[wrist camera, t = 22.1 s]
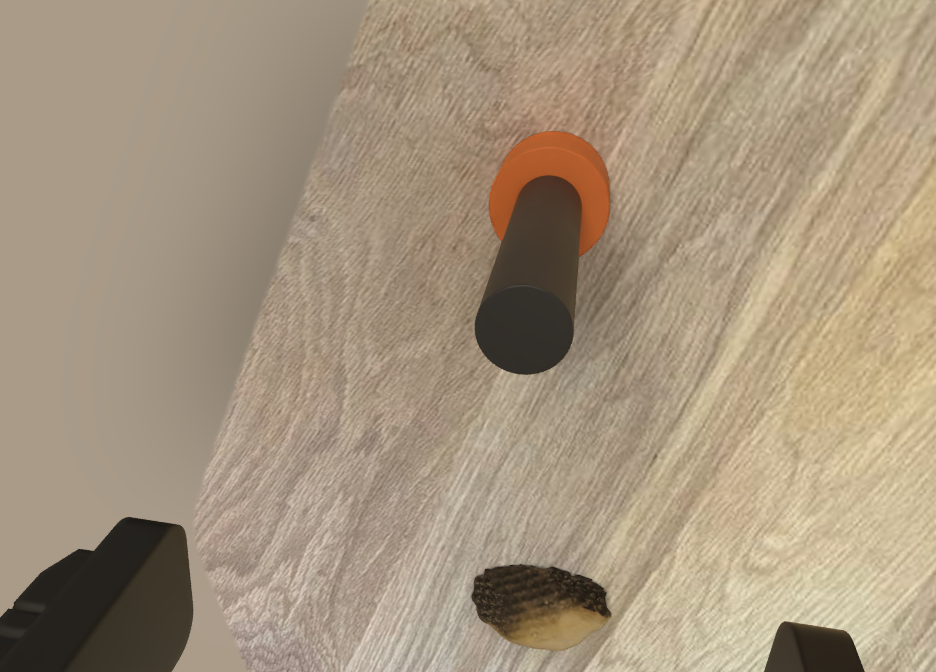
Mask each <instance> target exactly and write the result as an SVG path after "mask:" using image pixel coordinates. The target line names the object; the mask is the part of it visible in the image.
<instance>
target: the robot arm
mask: <svg viewBox="0 0 936 672" xmlns="http://www.w3.org/2000/svg"><path fill="white" fill-rule="evenodd" d="M187 550H188V549H187V539H186V534H185V530H184V529H183V527H182V526H181V525H177V524H171V523H164V522H158V521H151V520H145V519H138V518H132V517H127V518H124V519H122V520H121V521H119V522H118V523H117V525H116V526H115V527H114V528H113V529H112V530H111V532H110V533H109V534H108V535H107V536H106V537H105V539H104V540H103V541H102V542H101V543H100V544H99V546H98V547H97V548H96V549H95V551H90V550H83V549H78V550H76V551H75V552H73V553H72V554H70V555H68V556H67V557H65V558H64V559H62V560H60V561H59V562H57V563H56V564H54V565H52V566H51V567H49V568H48V569H46V570H44V571H43V572H41V573H40V574H39V576H38V577H37V578H36V579H35V580H34V581H33V582H32V583H31V584H30V585H29V586H28V588H27V589H26V590H25V591H24V592H23V593H22V594H21V595H20V596H19V598H18V599H17V600H16V601H15V602H14V606H13V608H12V609H8V610H7V611H6V612H5V613H4V614H3V615H2V616H1V617H0V672H172V670H173V669H174V667H175V665H176V663H177V662H178V660H179V658H180V657H181V655H182V653H183V651H184V649H185V646H186V644H187V641H188V638H189V634H190V630H191V626H192V620H193V601H192V591H191V580H190V570H189V559H188V551H187ZM764 672H865V671H864V669H863V666H862V664H861V661H860V658H859V656H858V653H857V650H856V648H855V645H854V642H853V640H852V638H851V637H850V635H849V634H848V633H847V632H846V631H844V630H838V629H831V628H825V627H818V626H812V625H806V624H799V623H793V622H783V623H781V625H780V626H779V628H778V630H777V633H776V636H775V639H774V642H773V645H772V648H771V652H770V655H769V658H768V661H767V664H766V667H765V670H764Z"/></svg>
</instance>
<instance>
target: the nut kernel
mask: <svg viewBox="0 0 936 672" xmlns="http://www.w3.org/2000/svg"><path fill="white" fill-rule="evenodd" d="M591 581H592V579H588V578H585V577H583V576H580V575H576V576H571V574H570V573H569V572H566V571H562V570H560V569H557V568H554V567H550V568H547V569H539V568H537V567H534V566H529V567H526V566H524V565H521V564H520V565H519V566H513V565H510V566H508V567H497V568H494V569H492V570H489V569H485V573H484V577H483V578H482V577H476V578H475V581H474V592H473V594H472V601H473V602H474V603H475V605H476V606H477V609H476V610H477V613H478V616H479V618H480V619H481V620H482V621H483V622H485V623H487V624H489V625H490V626H492V627H493V628H494V629H495V630H496V631H497V632H498V633H499V634H500V635H501V636H502V637H504V638H505V639H507V640H508V641H510V642H512V643H515V644H517V645H521V646H527V647H531V648H536V649H546V650H552V651H562V650H566V649H568V648H571V647H574V646H575V645H577V644H579V643H580V642H582V641H583V640H585V639H586V638H587V637H588V636H589V635H591V634H592V633H593V632H595V631H597V630H598V629H600V628H601V627H602V626H603V625H604V624H605V623H606V622H607V621H608V620H609V619H610V618H611V612H610V611H609V609H608V608H607V605H606V599H605V596H606V592H604V591H603V589H604V588H602V587H600V586H599V585H597V584H596V583H592V582H591Z"/></svg>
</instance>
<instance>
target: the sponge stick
mask: <svg viewBox="0 0 936 672" xmlns="http://www.w3.org/2000/svg"><path fill="white" fill-rule="evenodd" d="M489 213H490V219H491V223H492V225H493V228H494V230H495V232H496V234H497V236H498V237H499V239H500V240H501V241H502V243H501V246H500V249H499V252H498V255H497V258H496V261H495V264H494V266H493V269H492V272H491V275H490V278H489V281H488V284H487V287H486V290H485V293H484V295H483V298H482V301H481V304H480V307H479V310H478V313H477V316H476V320H475V335H476V339H477V342H478V345H479V347H480V349H481V350H482V352H483V353H484V355H485V356H486V357H487V358H488V359H489V360H490V361H491V362H492V363H493V364H495V365H496V366H498V367H499V368H501V369H503V370H505V371H508V372H511V373H515V374H523V375H528V374H536V373H540V372H544V371H546V370H548V369H550V368H552V367H554V366H555V365H556V364H558V363H559V362H560V361H561V360H562V359H563V358H564V357H565V355H566V354H567V353H568V351H569V349H570V347H571V344H572V341H573V335H574V320H575V305H576V290H577V275H578V260H579V257H580V256H581V255H583V254H584V253H586V252H587V251H588V250H590V249H591V248H592V247H593V246H594V245H595V244H596V243H597V241H598V240H599V238H600V237H601V236H602V234H603V232H604V230H605V228H606V225H607V222H608V218H609V213H610V194H609V178H608V172H607V169H606V166H605V164H604V162H603V160H602V158H601V157H600V155H599V154H598V152H597V151H596V150H595V149H594V148H593V147H592V146H591V145H590V144H589V143H588V142H586V141H585V140H583V139H581V138H579V137H577V136H575V135H572V134H569V133H565V132H559V131H550V132H542V133H538V134H535V135H532V136H530V137H528V138H526V139H524V140H523V141H521V142H520V143H519V144H517V145H516V146H515V147H514V148H513V149H512V150H511V151H510V153H509V154H508V155H507V157H506V158H505V160H504V162H503V164H502V166H501V168H500V170H499V172H498V174H497V177H496V179H495V181H494V183H493V185H492V189H491V192H490V198H489Z"/></svg>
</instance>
